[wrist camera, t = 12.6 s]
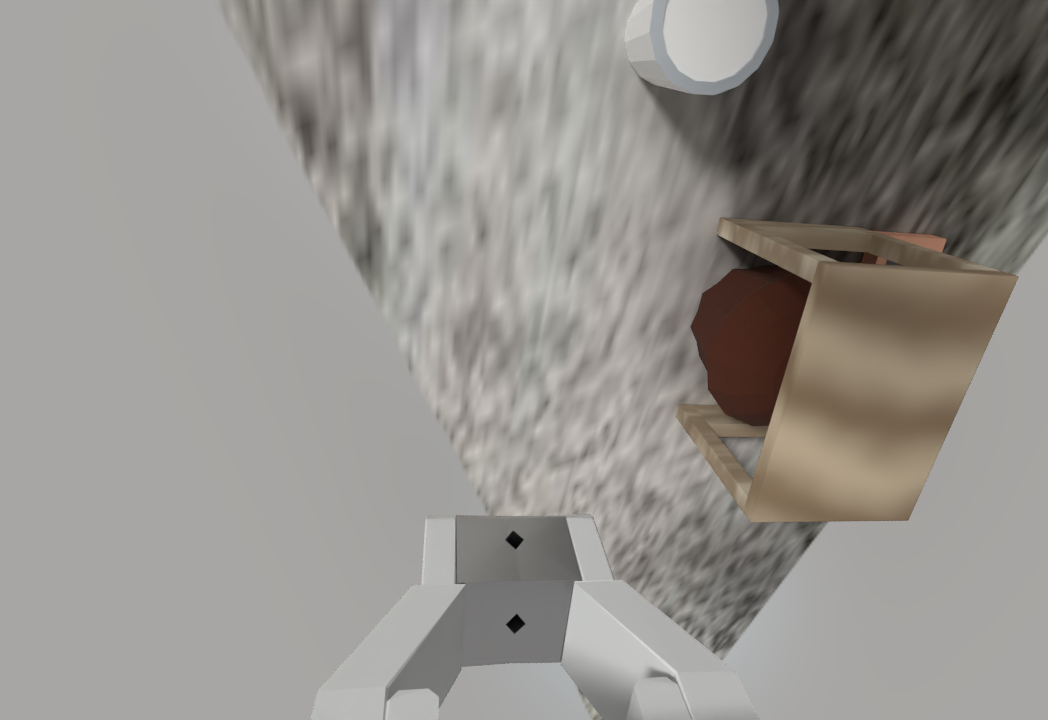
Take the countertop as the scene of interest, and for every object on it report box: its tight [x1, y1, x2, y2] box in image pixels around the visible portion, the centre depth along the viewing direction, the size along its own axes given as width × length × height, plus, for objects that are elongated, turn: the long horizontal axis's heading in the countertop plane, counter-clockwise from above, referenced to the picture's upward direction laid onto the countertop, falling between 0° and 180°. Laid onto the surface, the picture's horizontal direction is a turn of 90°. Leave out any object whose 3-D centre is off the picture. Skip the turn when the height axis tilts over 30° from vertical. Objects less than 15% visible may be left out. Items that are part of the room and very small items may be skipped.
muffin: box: [691, 265, 812, 426], centre depth 40 cm, size 12×11×10 cm
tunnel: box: [676, 218, 1018, 522], centre depth 39 cm, size 16×11×13 cm
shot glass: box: [625, 0, 779, 95], centre depth 32 cm, size 7×7×7 cm
